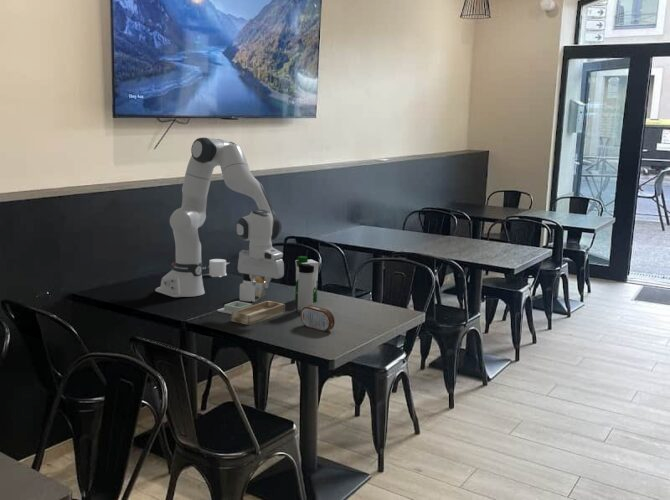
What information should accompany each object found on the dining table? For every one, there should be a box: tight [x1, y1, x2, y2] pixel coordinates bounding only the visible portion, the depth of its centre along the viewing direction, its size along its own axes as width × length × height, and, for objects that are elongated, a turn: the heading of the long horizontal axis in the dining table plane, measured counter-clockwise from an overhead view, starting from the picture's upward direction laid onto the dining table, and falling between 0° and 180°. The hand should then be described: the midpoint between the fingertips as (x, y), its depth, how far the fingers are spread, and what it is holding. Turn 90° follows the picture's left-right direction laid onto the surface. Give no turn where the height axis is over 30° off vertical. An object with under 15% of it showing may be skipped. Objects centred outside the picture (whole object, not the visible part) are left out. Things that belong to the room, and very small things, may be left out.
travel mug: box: [297, 264, 314, 313], centre depth 283 cm, size 6×7×20 cm
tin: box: [300, 304, 336, 332], centre depth 261 cm, size 15×3×8 cm, turn 51°
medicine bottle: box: [239, 273, 261, 303], centre depth 300 cm, size 7×7×12 cm
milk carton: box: [294, 255, 320, 303], centre depth 298 cm, size 9×9×20 cm
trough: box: [230, 300, 286, 326], centre depth 275 cm, size 9×23×4 cm, turn 149°
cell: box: [255, 275, 266, 298], centre depth 273 cm, size 4×4×8 cm
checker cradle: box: [216, 300, 253, 315], centre depth 282 cm, size 12×12×3 cm
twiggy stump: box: [205, 258, 229, 278], centre depth 345 cm, size 20×19×8 cm
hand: (260, 286), depth 273 cm, fingers closed on cell, 4 cm apart
